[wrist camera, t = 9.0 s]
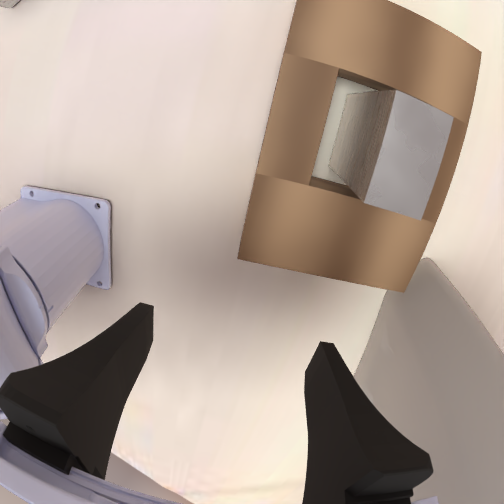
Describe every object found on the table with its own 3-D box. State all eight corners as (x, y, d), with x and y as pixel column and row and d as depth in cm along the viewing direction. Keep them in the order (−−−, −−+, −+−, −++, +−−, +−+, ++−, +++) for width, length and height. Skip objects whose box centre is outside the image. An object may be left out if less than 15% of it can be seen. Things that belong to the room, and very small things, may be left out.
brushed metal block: (328, 165, 19) (363, 203, 12) (347, 94, 17) (396, 89, 10) (369, 177, 19) (420, 220, 12) (388, 109, 17) (453, 117, 10)
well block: (241, 238, 22) (237, 258, 19) (299, -10, 14) (304, -27, 11) (390, 271, 22) (404, 292, 20) (458, 55, 14) (481, 52, 12)
